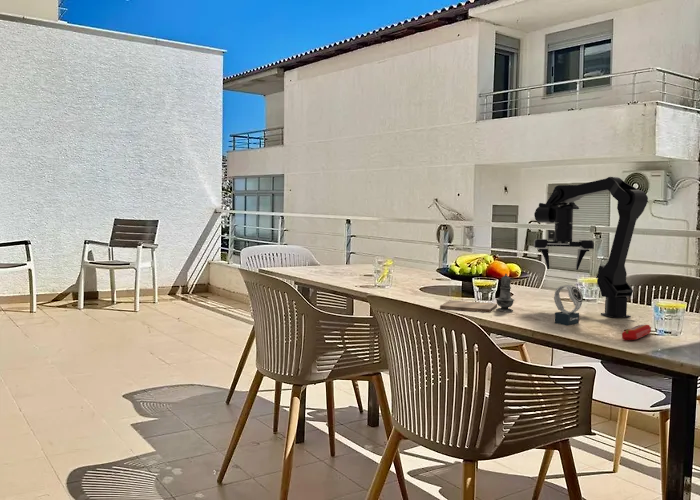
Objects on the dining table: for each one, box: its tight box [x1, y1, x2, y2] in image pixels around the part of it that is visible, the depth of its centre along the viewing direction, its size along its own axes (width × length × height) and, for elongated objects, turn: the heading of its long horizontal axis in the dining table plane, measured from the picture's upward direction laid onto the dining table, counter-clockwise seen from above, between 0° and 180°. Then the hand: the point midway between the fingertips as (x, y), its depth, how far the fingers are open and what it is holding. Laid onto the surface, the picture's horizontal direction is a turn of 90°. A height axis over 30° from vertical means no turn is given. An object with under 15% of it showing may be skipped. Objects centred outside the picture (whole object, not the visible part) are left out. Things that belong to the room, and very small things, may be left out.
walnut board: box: [439, 299, 498, 313], centre depth 217 cm, size 16×14×1 cm
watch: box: [553, 284, 584, 326], centre depth 190 cm, size 6×8×11 cm
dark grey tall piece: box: [495, 273, 515, 313], centre depth 213 cm, size 6×6×12 cm
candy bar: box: [621, 324, 652, 342], centre depth 172 cm, size 16×4×3 cm, turn 141°
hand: (562, 269), depth 222 cm, fingers open, 9 cm apart
